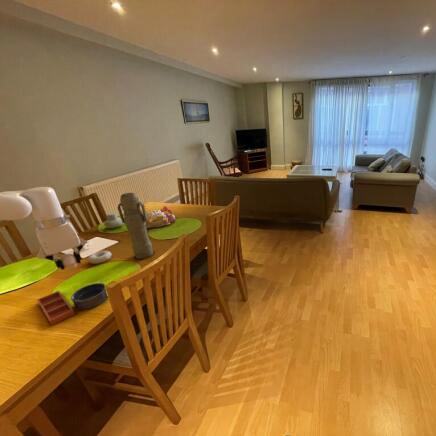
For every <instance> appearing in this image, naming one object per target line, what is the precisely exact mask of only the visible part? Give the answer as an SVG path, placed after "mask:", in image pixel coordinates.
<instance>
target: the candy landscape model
mask: <svg viewBox="0 0 436 436" xmlns="http://www.w3.org/2000/svg"><path fill="white" fill-rule="evenodd" d="M165 212H167V213H165ZM168 213H169V214H168ZM146 215H147V218H148V219H147V220H146V221H145V222H146V229H150V228H158V227H159V228H160V227H164V226H167V225H171V223H170V222H172V224H174V222H176V221H177V219H176V216H175V215H174V212H173V211H172V209H171V208H170V207H169V206H167V205H164V206H163V207H162V208H161V209H158V210H155V209H152V210H149V211H148V212H146Z"/></svg>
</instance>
